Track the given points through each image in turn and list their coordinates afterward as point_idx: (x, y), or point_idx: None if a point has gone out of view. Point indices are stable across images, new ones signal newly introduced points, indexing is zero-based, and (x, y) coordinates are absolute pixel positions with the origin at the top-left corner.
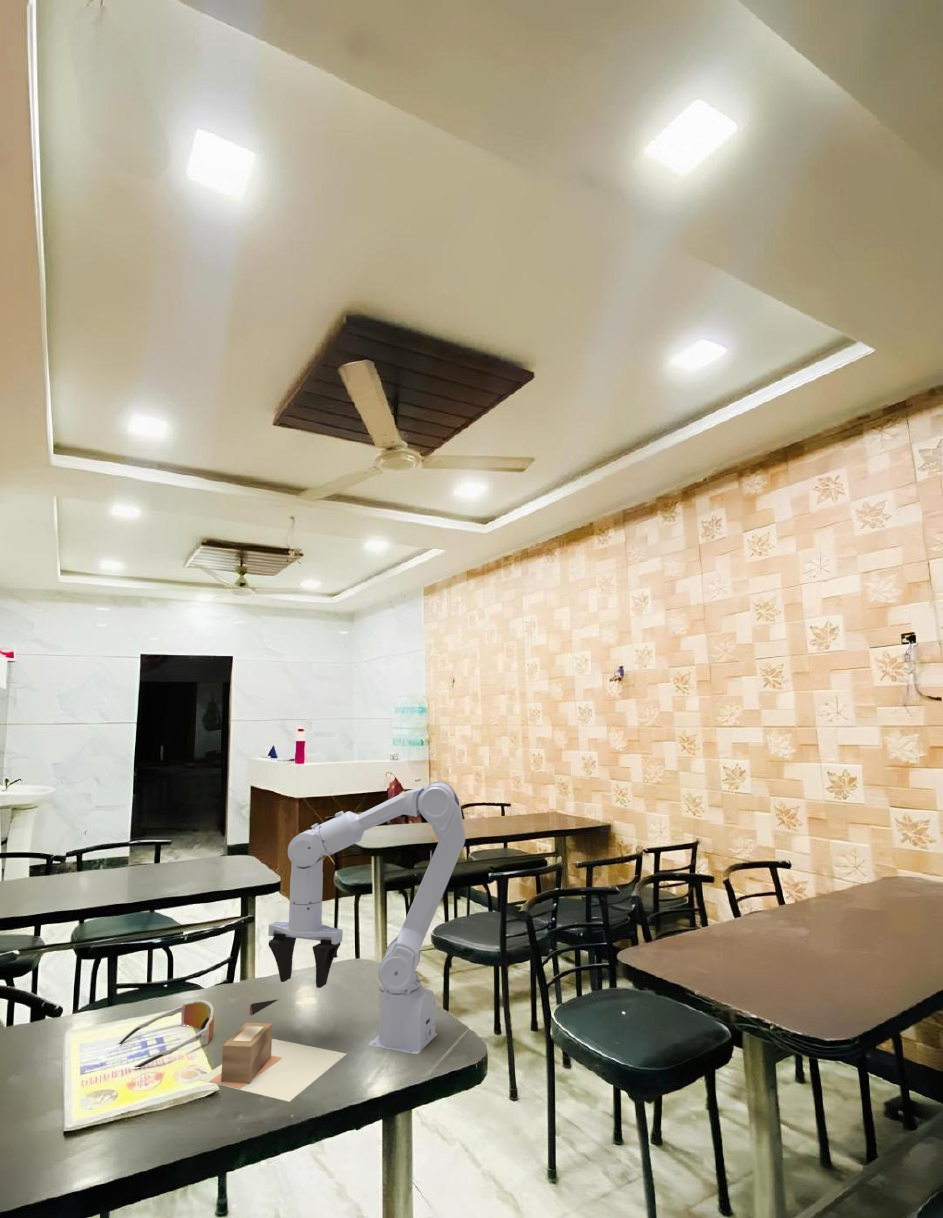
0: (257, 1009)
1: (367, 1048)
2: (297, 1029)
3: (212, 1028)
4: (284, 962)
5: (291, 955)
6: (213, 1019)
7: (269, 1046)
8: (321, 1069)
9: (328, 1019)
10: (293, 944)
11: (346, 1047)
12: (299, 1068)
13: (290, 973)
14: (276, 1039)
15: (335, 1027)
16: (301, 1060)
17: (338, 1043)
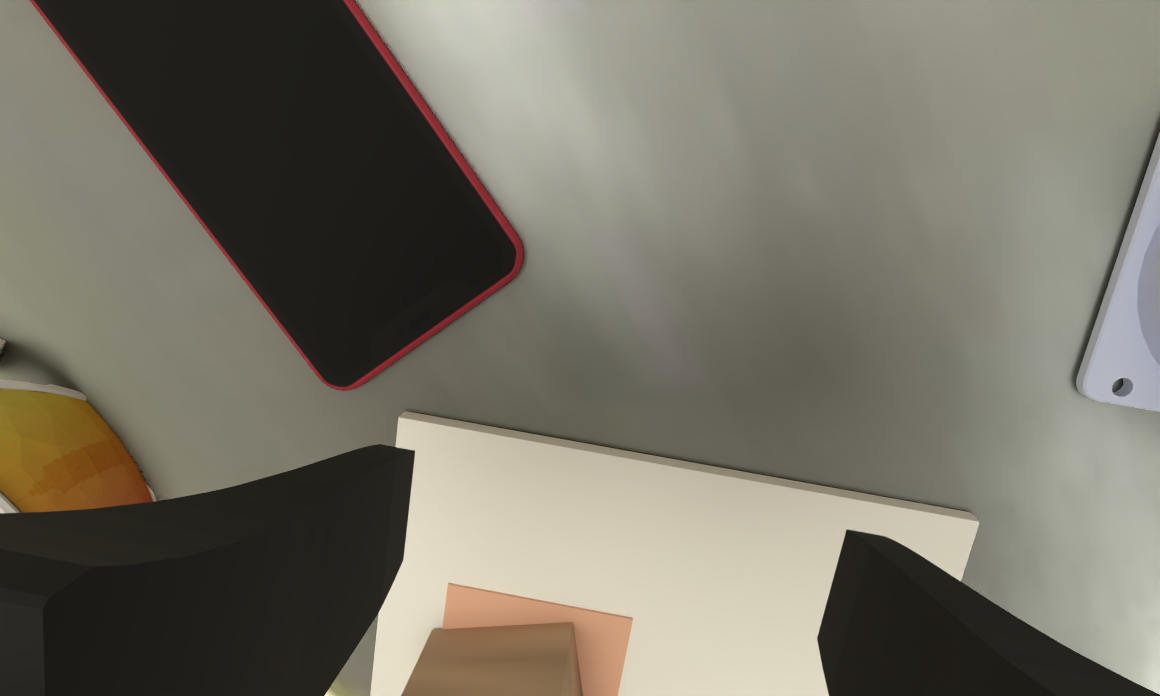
0: (110, 43)
1: (1065, 388)
2: (523, 235)
3: (98, 507)
4: (311, 662)
5: (298, 544)
6: (51, 499)
7: (569, 688)
8: None
9: (659, 45)
10: (205, 587)
11: (927, 399)
12: (773, 691)
13: (397, 472)
14: (490, 435)
15: (758, 157)
16: (747, 620)
17: (860, 361)
